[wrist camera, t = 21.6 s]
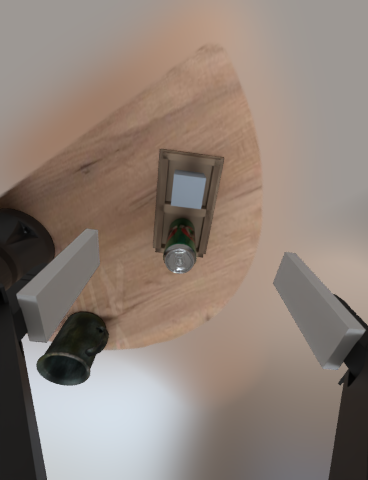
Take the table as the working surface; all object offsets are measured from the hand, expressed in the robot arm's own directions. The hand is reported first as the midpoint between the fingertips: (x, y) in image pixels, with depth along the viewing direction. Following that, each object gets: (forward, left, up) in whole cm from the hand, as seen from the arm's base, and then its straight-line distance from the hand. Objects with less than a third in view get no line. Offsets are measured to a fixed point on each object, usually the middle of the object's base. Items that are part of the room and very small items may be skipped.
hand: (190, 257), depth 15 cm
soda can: (0, -9, -26) cm, 27 cm away
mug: (-20, -39, -27) cm, 51 cm away
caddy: (0, -4, -27) cm, 27 cm away
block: (0, 0, -26) cm, 26 cm away
